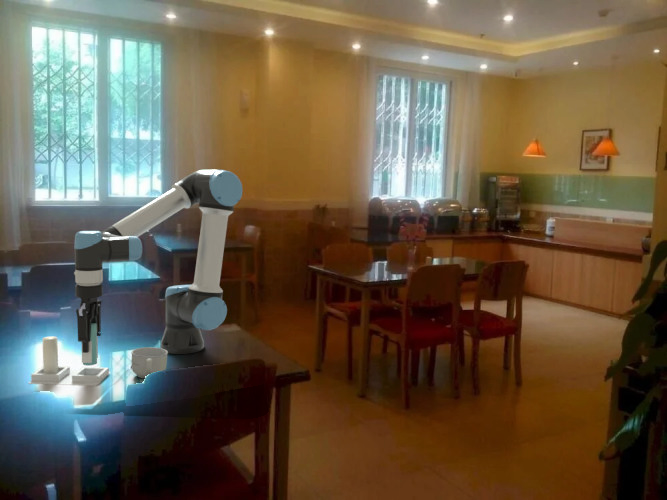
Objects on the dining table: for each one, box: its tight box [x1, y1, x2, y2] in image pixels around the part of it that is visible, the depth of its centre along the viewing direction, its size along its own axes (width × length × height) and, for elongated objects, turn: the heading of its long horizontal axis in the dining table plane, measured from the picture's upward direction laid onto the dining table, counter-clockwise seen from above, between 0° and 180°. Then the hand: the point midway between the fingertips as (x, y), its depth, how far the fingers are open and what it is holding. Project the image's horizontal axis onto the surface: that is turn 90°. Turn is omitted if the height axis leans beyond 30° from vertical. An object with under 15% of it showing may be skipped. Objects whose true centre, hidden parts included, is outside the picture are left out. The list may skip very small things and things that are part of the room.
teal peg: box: [82, 323, 98, 366], centre depth 184 cm, size 4×4×12 cm
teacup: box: [130, 346, 169, 379], centre depth 190 cm, size 14×11×8 cm
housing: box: [28, 365, 112, 387], centre depth 185 cm, size 20×12×3 cm, turn 90°
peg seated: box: [42, 336, 59, 374], centre depth 184 cm, size 4×4×12 cm
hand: (90, 359), depth 184 cm, fingers closed on teal peg, 4 cm apart
